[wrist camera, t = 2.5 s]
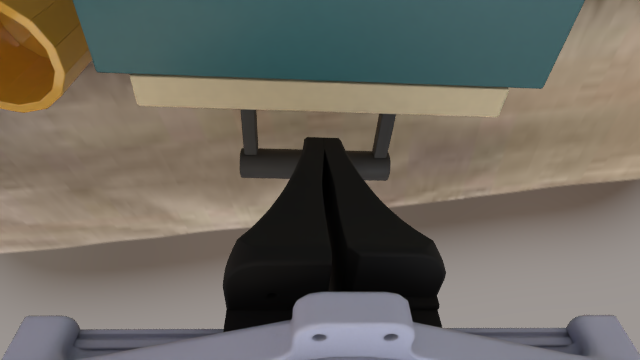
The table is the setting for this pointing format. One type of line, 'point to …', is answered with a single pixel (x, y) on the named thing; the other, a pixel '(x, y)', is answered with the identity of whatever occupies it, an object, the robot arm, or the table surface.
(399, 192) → the table surface
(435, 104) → the drawer
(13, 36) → the cup
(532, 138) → the table surface
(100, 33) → the cabinet
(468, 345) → the robot arm
